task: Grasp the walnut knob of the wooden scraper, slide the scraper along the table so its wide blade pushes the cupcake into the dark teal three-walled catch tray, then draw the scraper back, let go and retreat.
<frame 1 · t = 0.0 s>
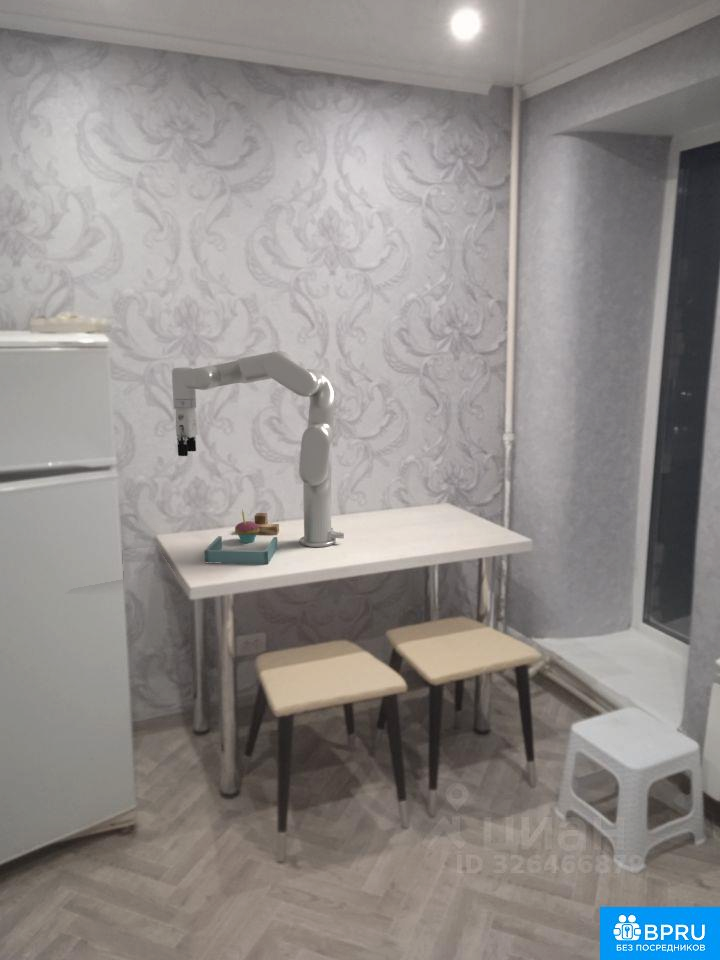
hand: (187, 453, 252), 31 cm above the table, fingers open, 9 cm apart
cupcake: (247, 541, 257), on the table
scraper: (261, 530, 271), on the table
tray: (242, 554, 241), on the table
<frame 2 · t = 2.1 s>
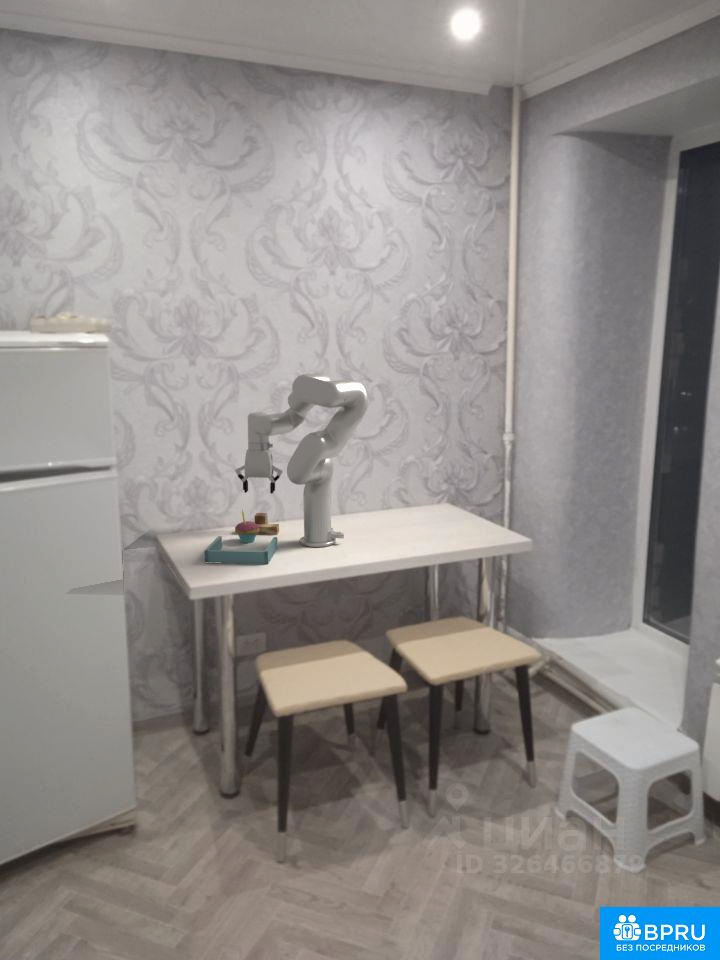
hand: (259, 492, 269), 14 cm above the table, fingers open, 9 cm apart
nothing on the table moved.
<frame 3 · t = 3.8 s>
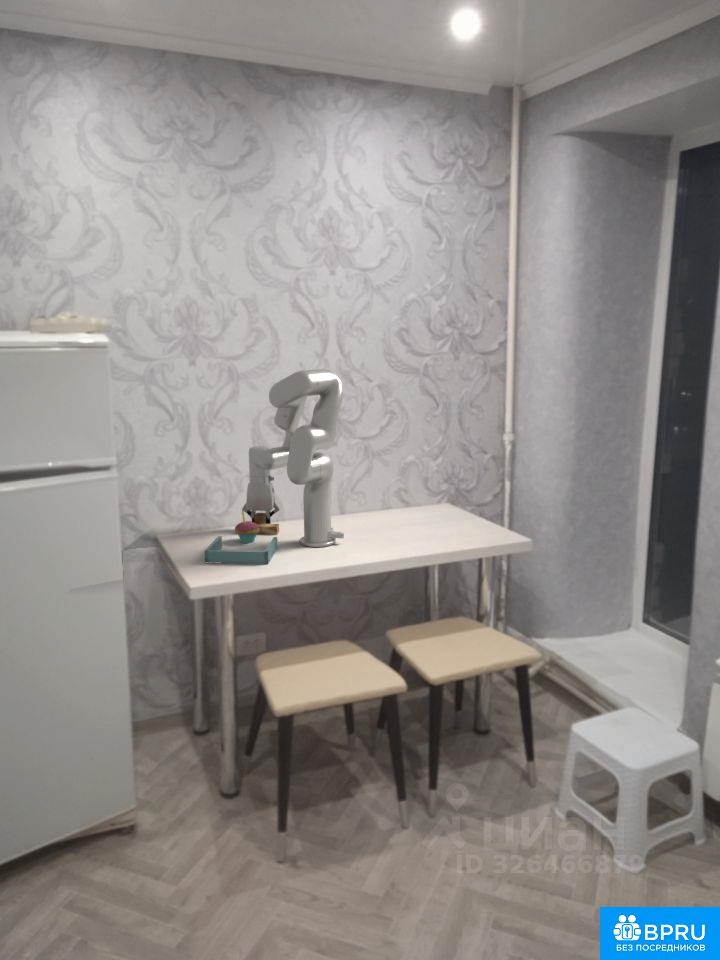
hand: (261, 527, 271), 1 cm above the table, fingers closed on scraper, 4 cm apart
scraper: (261, 529, 271), on the table, touching gripper
everything else where it was.
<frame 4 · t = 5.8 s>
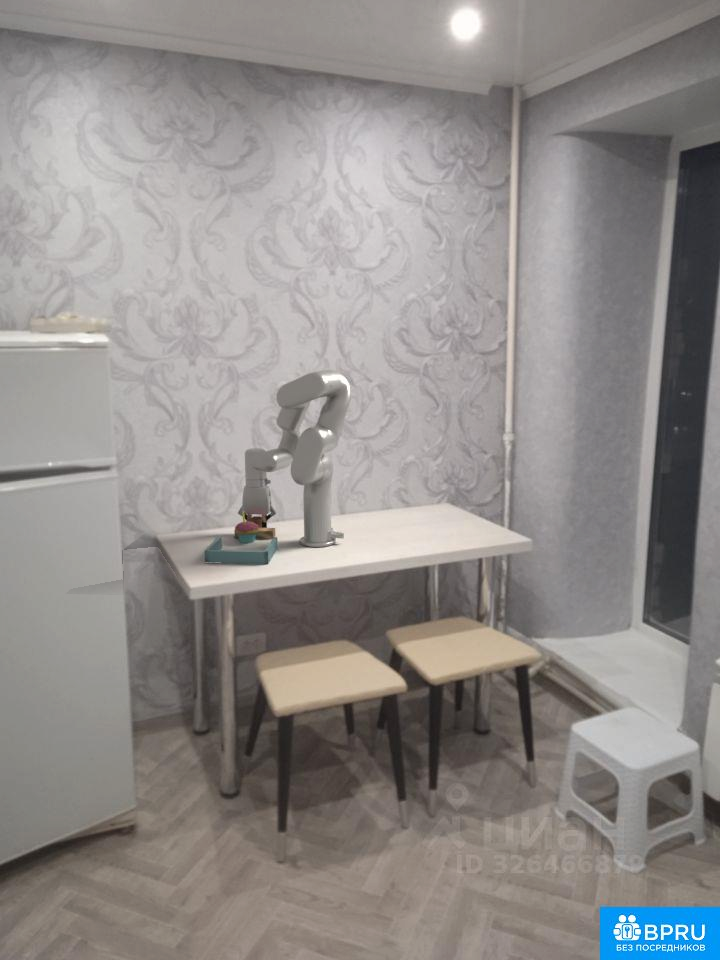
hand: (257, 531, 265), 1 cm above the table, fingers closed on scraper, 4 cm apart
cupcake: (247, 541, 257), on the table, touching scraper
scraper: (257, 533, 265), on the table, touching cupcake, gripper
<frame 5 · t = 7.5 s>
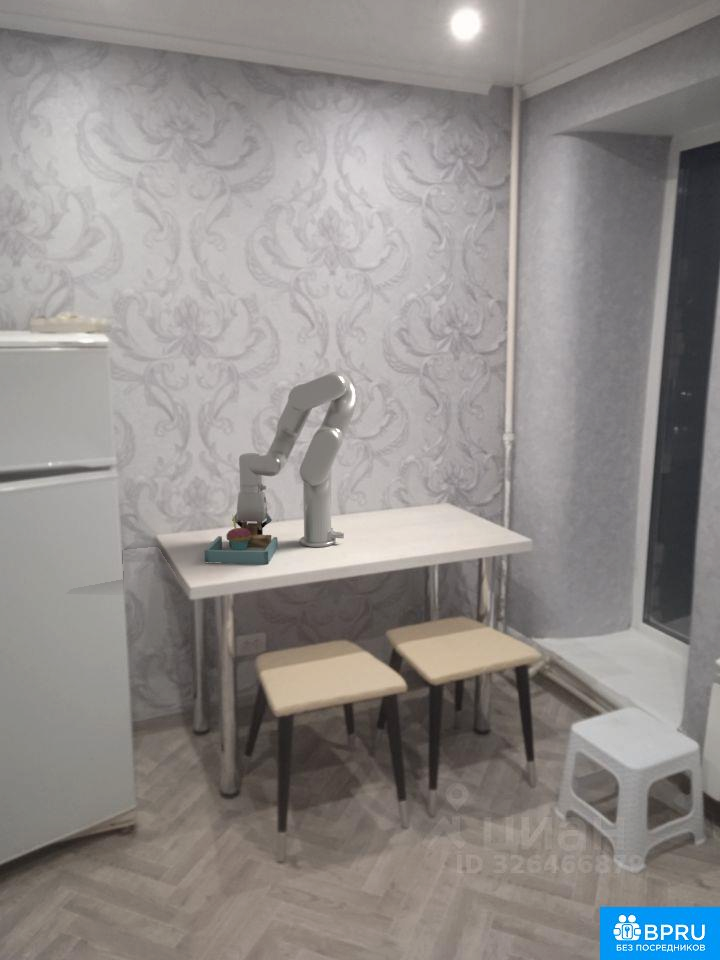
hand: (252, 539, 256), 1 cm above the table, fingers closed on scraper, 4 cm apart
cupcake: (239, 549, 248), resting in tray, touching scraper
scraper: (253, 541, 256), on the table, touching cupcake, gripper
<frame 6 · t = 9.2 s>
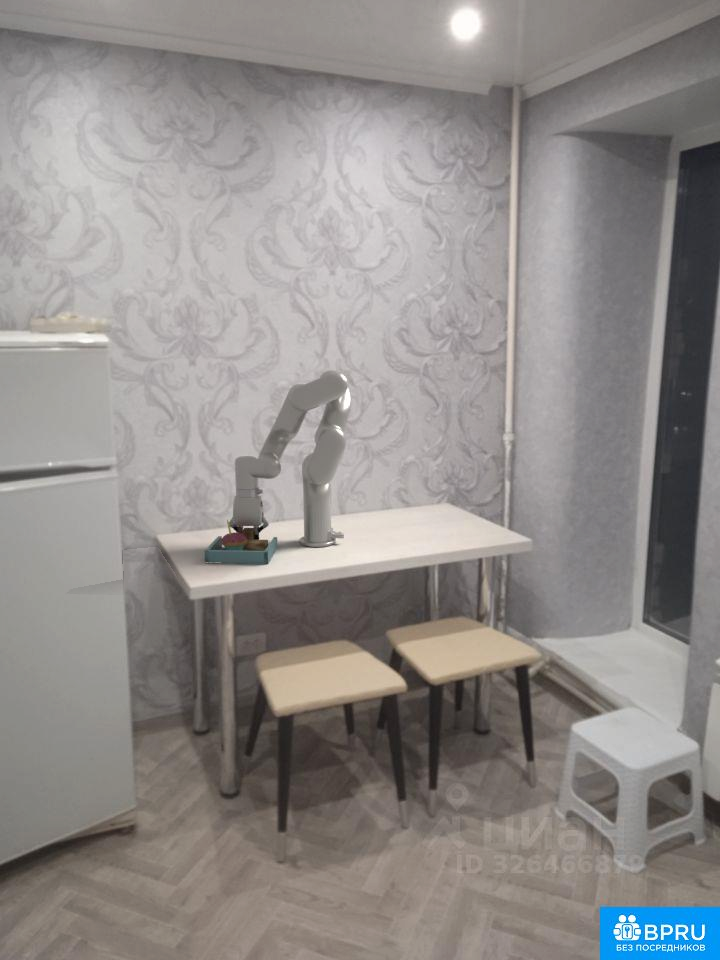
hand: (249, 544, 250), 1 cm above the table, fingers closed on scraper, 4 cm apart
cupcake: (234, 554, 242), resting in tray, touching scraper
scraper: (249, 546, 250), on the table, touching cupcake, gripper
when the fingers open (1 cm above the table, at t = 11.3 s): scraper stays where it is, on the table.
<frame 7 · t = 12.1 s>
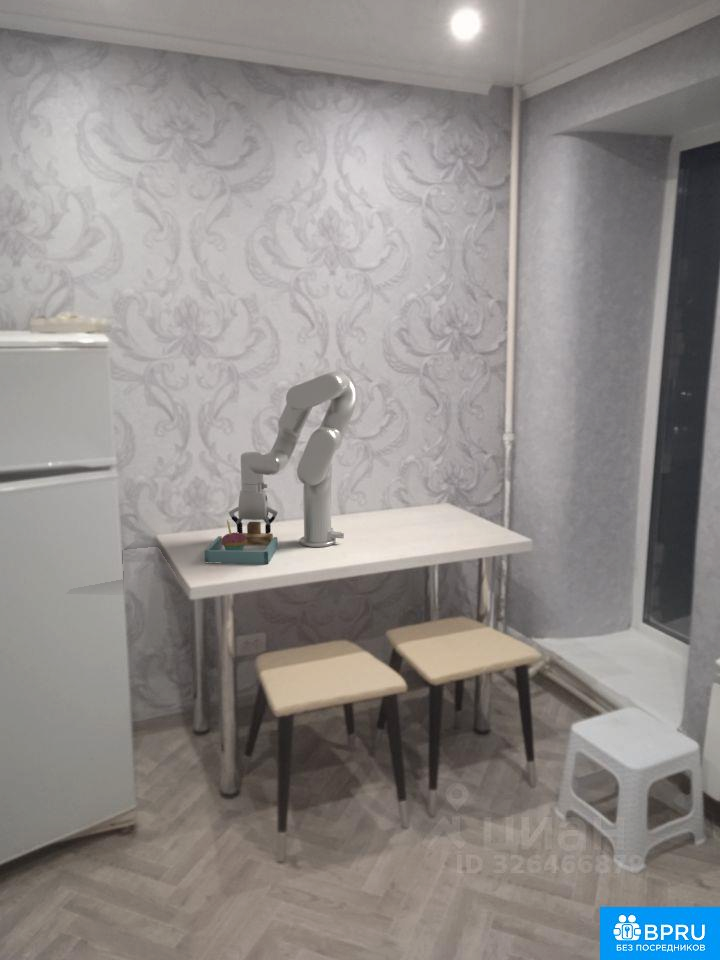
hand: (254, 534, 258), 2 cm above the table, fingers open, 9 cm apart
cupcake: (234, 554, 242), resting in tray
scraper: (254, 539, 259), on the table
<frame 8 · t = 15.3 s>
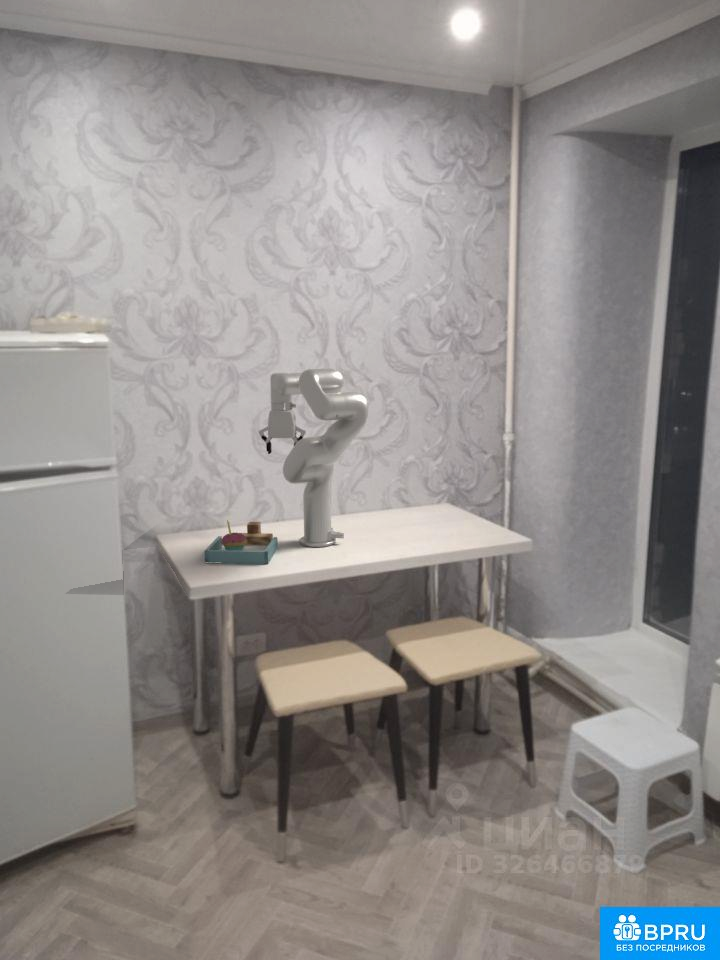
hand: (282, 453, 269), 28 cm above the table, fingers open, 9 cm apart
nothing on the table moved.
at the end: cupcake inside the target area on the tray (3.6 cm from its centre), point 0.0 cm above the tray's base; the gripper is holding nothing; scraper touching table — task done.
